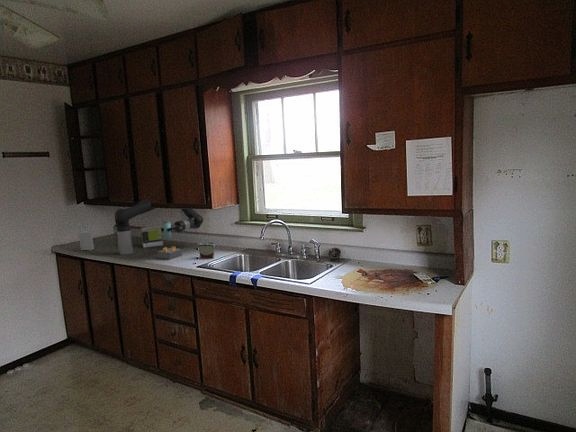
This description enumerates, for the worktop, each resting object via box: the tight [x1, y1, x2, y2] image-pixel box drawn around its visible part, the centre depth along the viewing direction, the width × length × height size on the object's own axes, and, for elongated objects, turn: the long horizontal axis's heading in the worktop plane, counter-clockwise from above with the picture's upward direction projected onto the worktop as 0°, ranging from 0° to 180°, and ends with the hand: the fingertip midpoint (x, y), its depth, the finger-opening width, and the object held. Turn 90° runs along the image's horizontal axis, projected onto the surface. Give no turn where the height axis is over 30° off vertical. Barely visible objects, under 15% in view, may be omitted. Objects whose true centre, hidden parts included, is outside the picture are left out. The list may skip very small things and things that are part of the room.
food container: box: [197, 241, 216, 260], centre depth 266 cm, size 12×6×10 cm, turn 74°
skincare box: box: [77, 230, 95, 251], centre depth 309 cm, size 8×6×15 cm
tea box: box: [140, 225, 164, 248], centre depth 315 cm, size 15×10×15 cm, turn 115°
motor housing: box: [156, 245, 183, 261], centre depth 273 cm, size 11×12×6 cm
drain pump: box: [162, 220, 173, 240], centre depth 270 cm, size 5×5×12 cm
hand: (164, 229), depth 268 cm, fingers closed on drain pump, 5 cm apart
